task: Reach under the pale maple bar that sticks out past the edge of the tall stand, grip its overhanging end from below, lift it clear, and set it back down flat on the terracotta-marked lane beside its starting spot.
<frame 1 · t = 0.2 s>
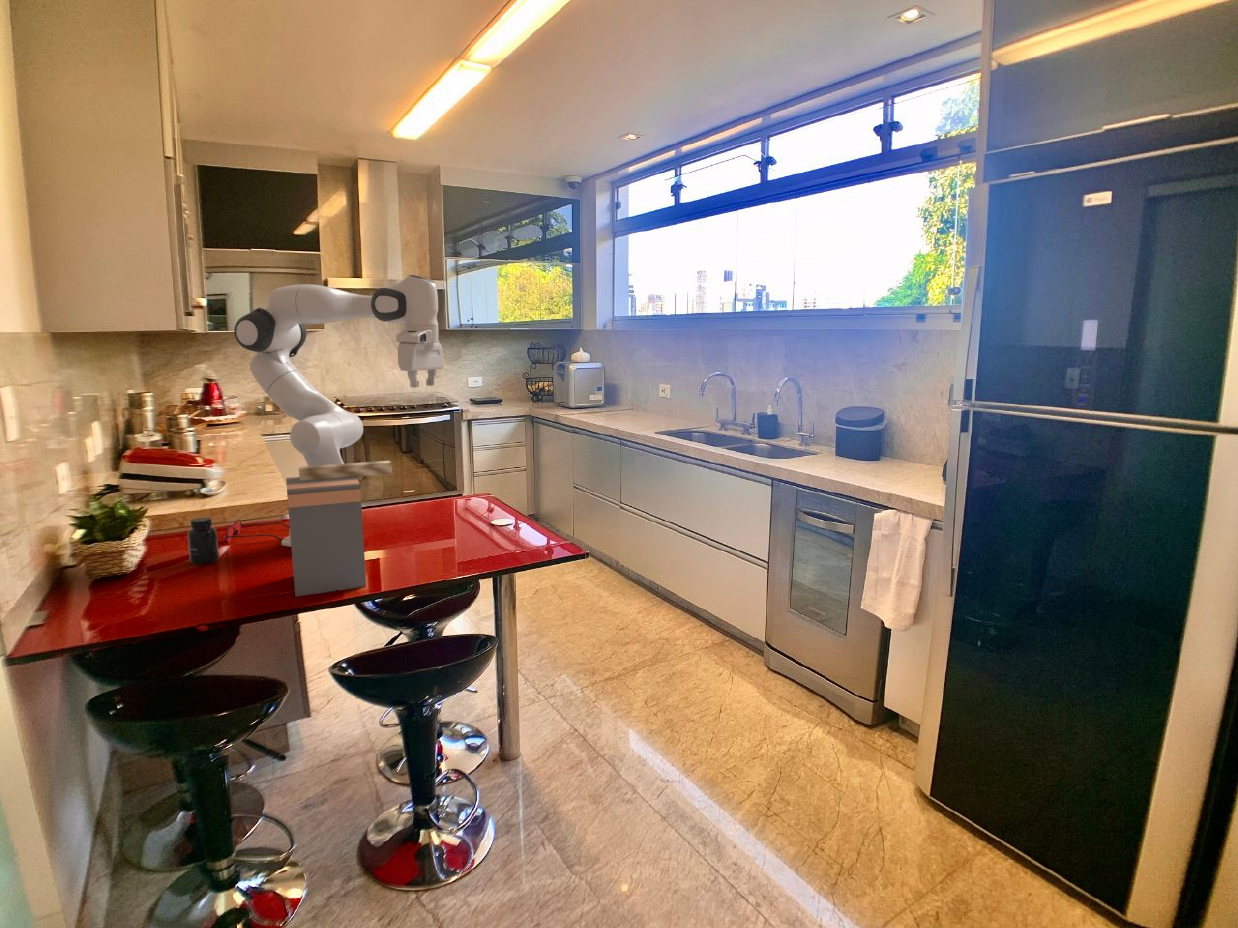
hand: (422, 386, 189), 48 cm above the counter, tool pointing down, fingers open, 8 cm apart
glasses: (260, 538, 210), on the counter
supplement bottle: (205, 562, 186), on the counter
maple bar: (346, 476, 174), point 26 cm above the counter, touching stand
stand: (329, 581, 172), on the counter
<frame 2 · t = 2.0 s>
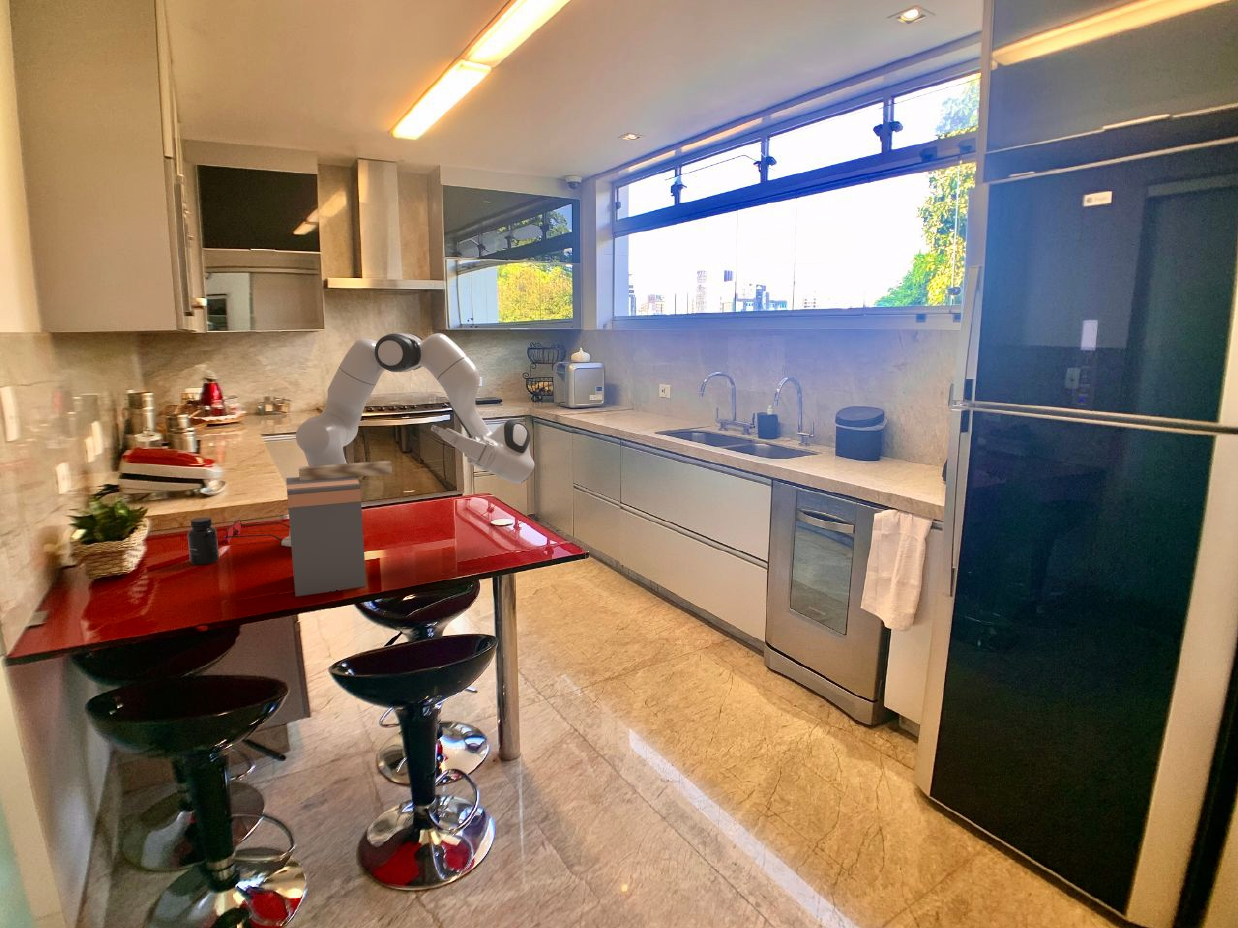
hand: (435, 429, 182), 37 cm above the counter, tool pointing upward, fingers open, 8 cm apart
nothing on the counter moved.
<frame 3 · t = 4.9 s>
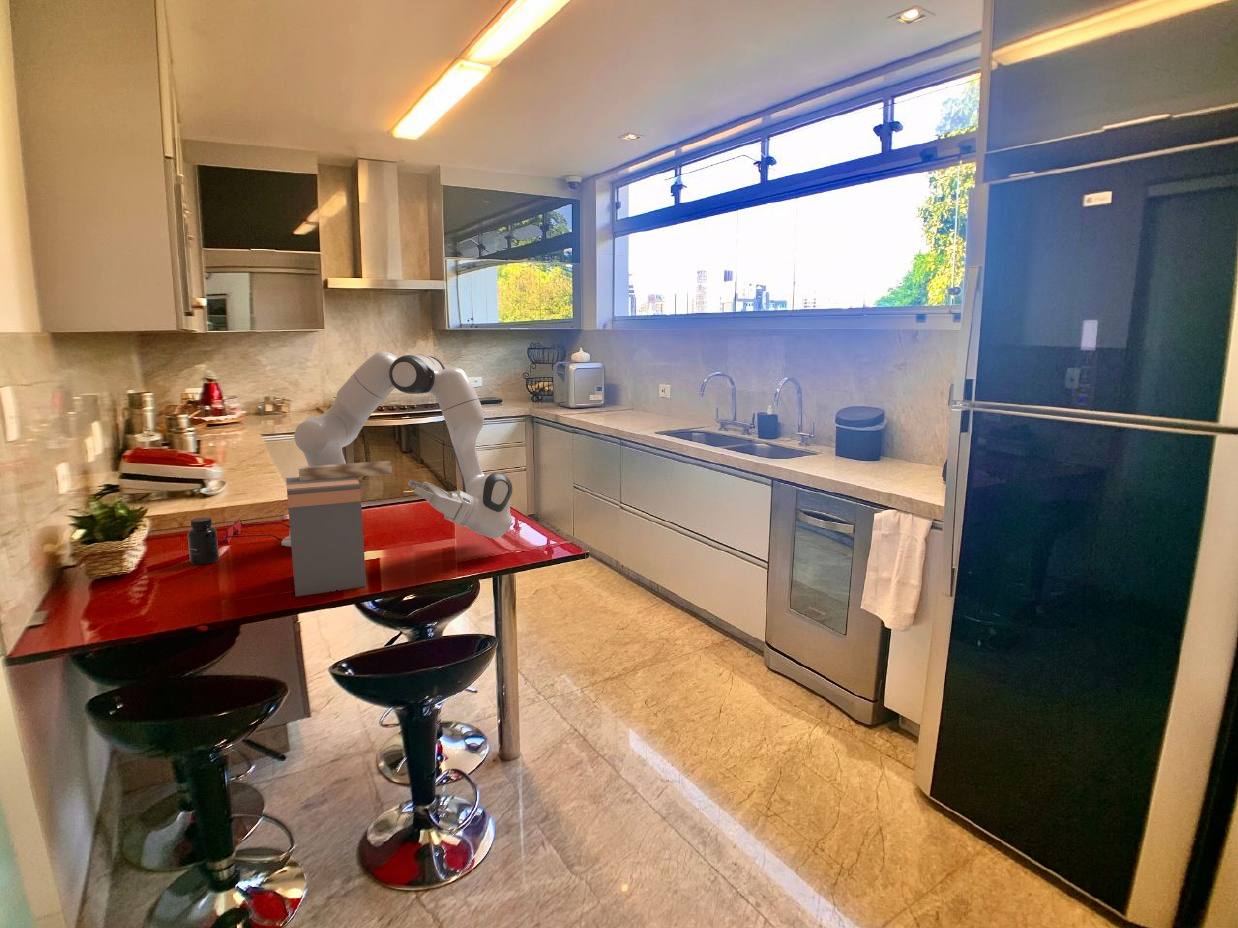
hand: (412, 485, 182), 22 cm above the counter, tool pointing upward, fingers open, 8 cm apart
nothing on the counter moved.
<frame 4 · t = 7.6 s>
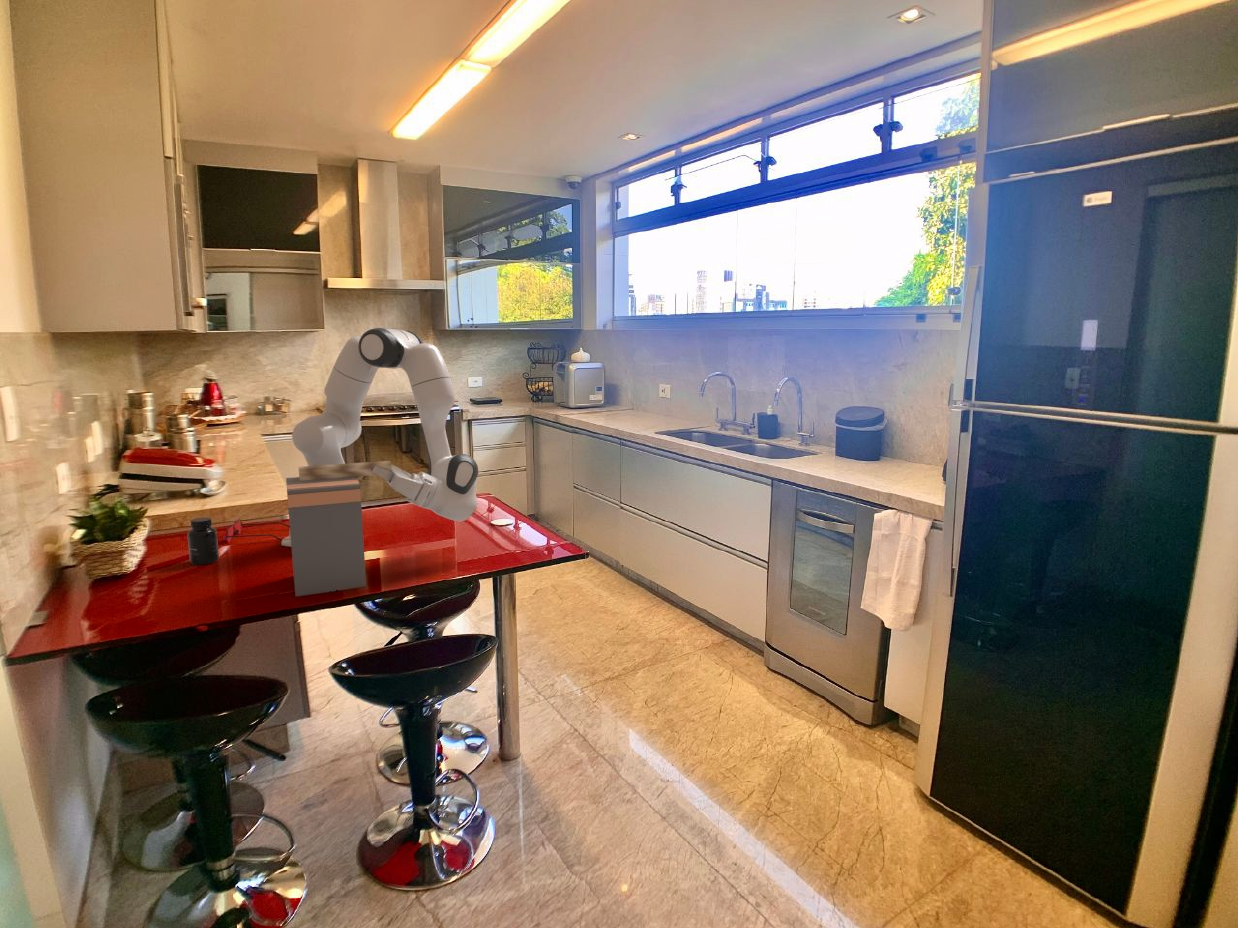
hand: (371, 466, 177), 28 cm above the counter, tool pointing upward, fingers closed on maple bar, 3 cm apart
maple bar: (346, 476, 174), point 26 cm above the counter, touching gripper, stand
everything else where it was.
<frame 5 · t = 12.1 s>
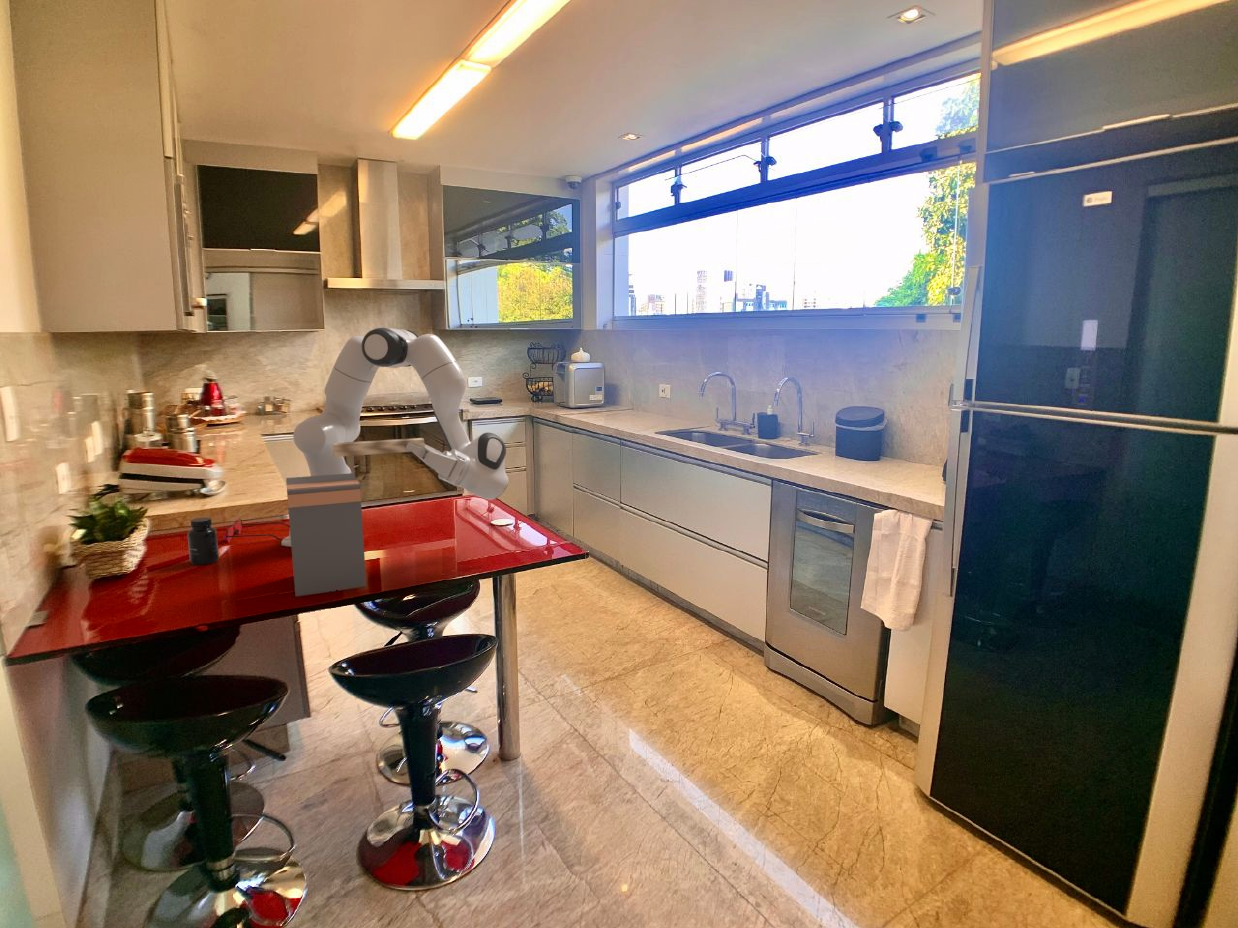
hand: (404, 443, 176), 34 cm above the counter, tool pointing upward, fingers closed on maple bar, 3 cm apart
maple bar: (380, 452, 174), point 32 cm above the counter, touching gripper
everything else where it was.
when the fingers open (29 cm above the counter, at t = 16.5 s): maple bar drops 1 cm, resting on stand.
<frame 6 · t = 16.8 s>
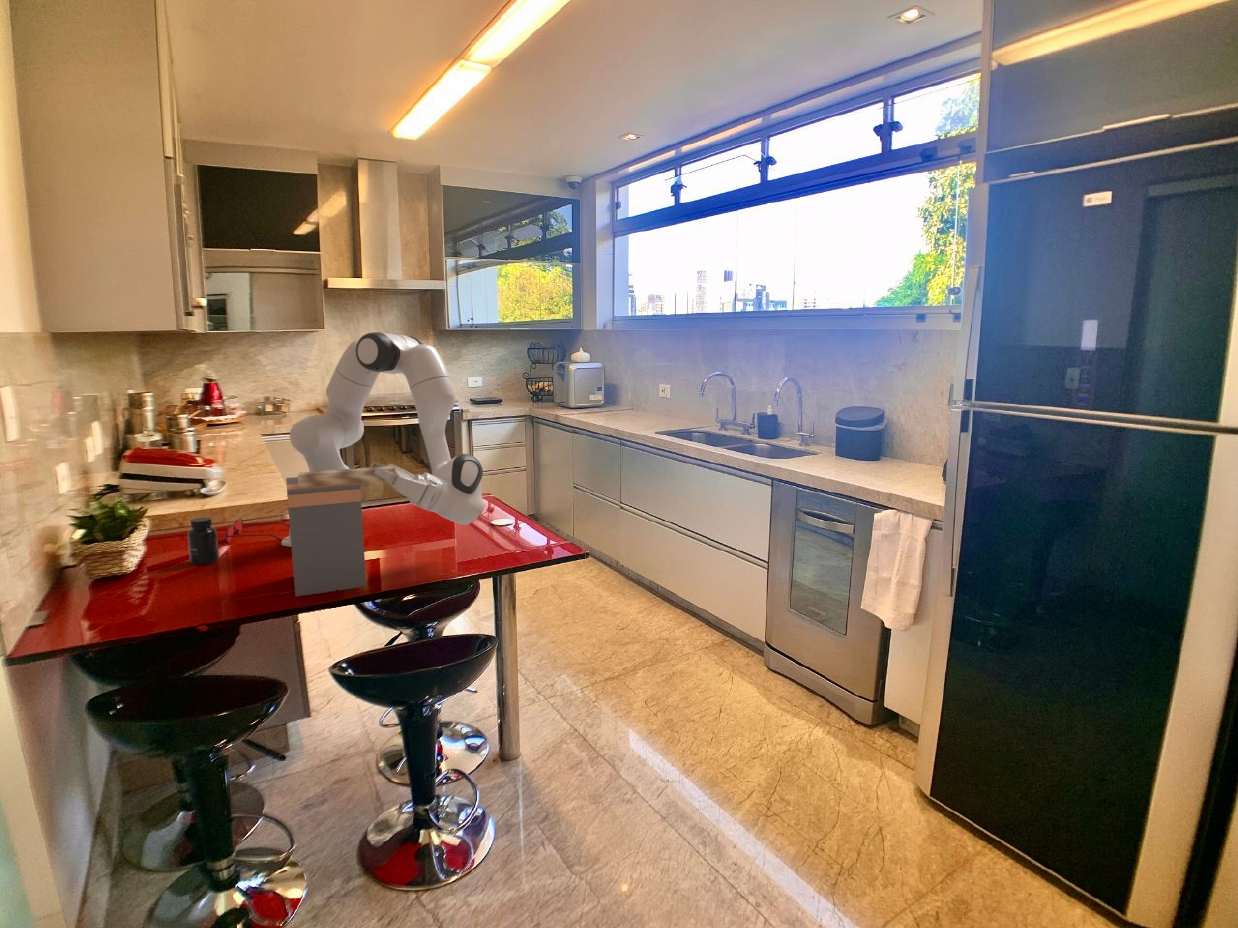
hand: (373, 467, 168), 29 cm above the counter, tool pointing upward, fingers open, 6 cm apart
maple bar: (347, 482, 166), point 26 cm above the counter, touching stand
everything else where it was.
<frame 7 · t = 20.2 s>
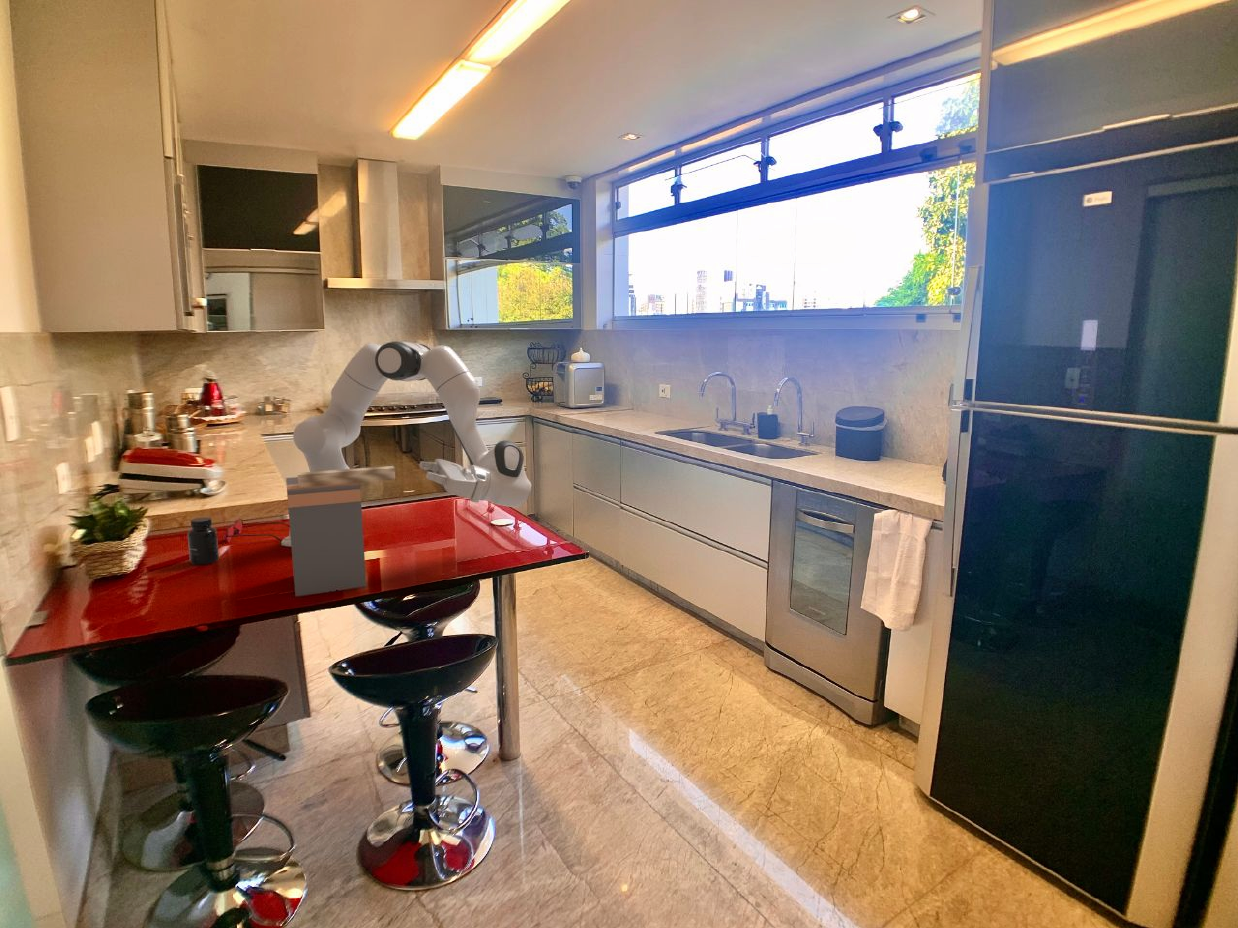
hand: (423, 469, 175), 28 cm above the counter, tool pointing upward, fingers open, 8 cm apart
nothing on the counter moved.
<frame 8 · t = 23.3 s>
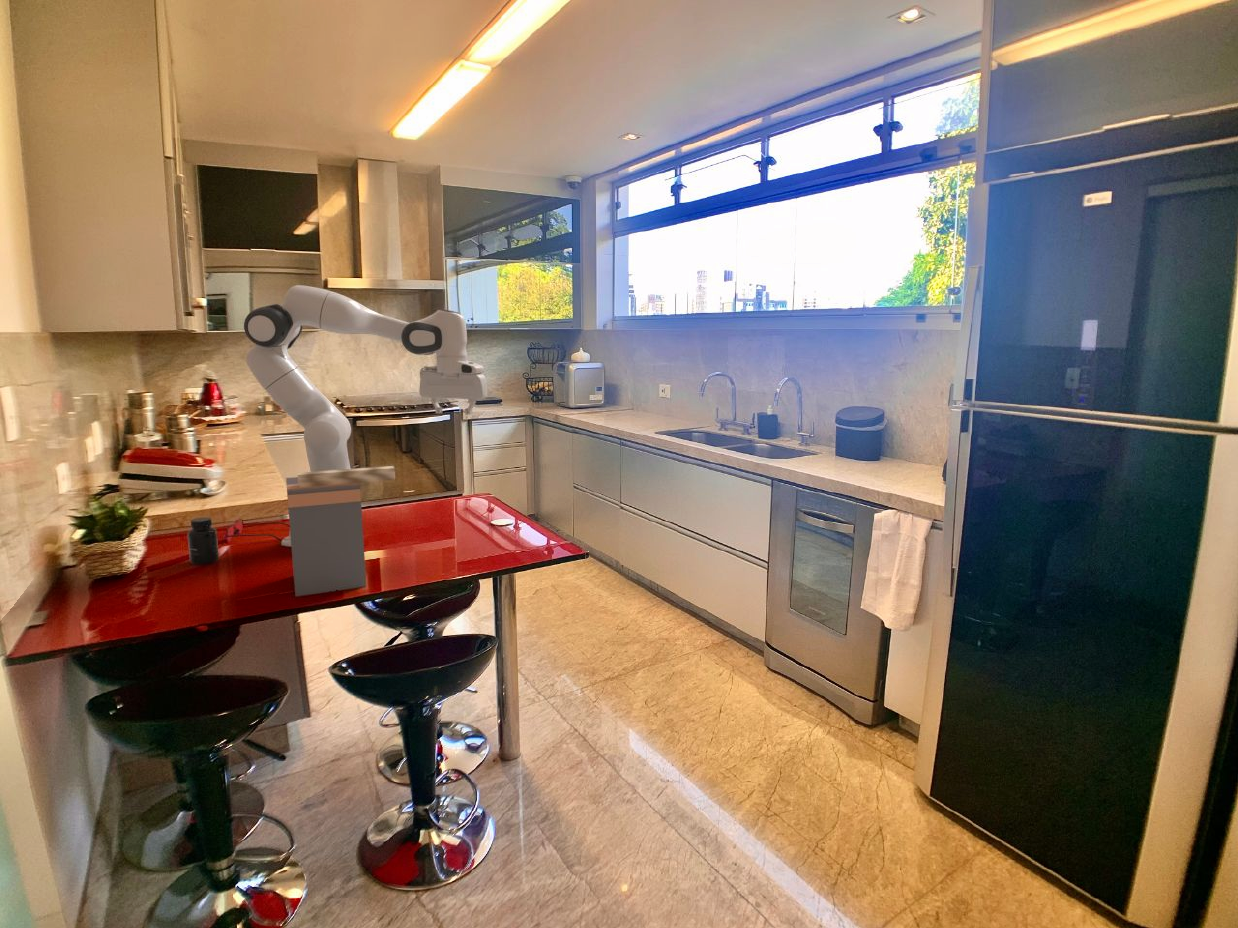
hand: (453, 413, 200), 39 cm above the counter, tool pointing down, fingers open, 8 cm apart
nothing on the counter moved.
at the end: maple bar 0.1 cm from the target spot on the stand, point 26.2 cm above the stand's base; maple bar tilted 0°; the gripper is holding nothing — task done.
